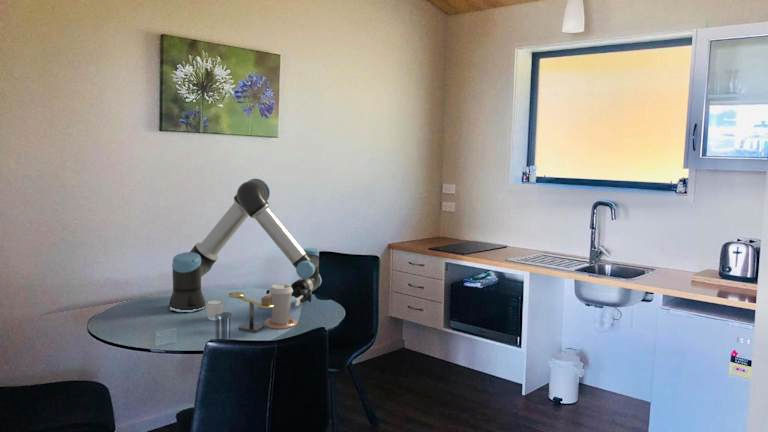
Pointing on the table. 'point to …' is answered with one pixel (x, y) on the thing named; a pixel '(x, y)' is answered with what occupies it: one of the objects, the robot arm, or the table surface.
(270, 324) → the dish
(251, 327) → the balance
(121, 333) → the table surface
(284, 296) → the coffee cup
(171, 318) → the table surface
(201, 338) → the table surface
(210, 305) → the shot glass
